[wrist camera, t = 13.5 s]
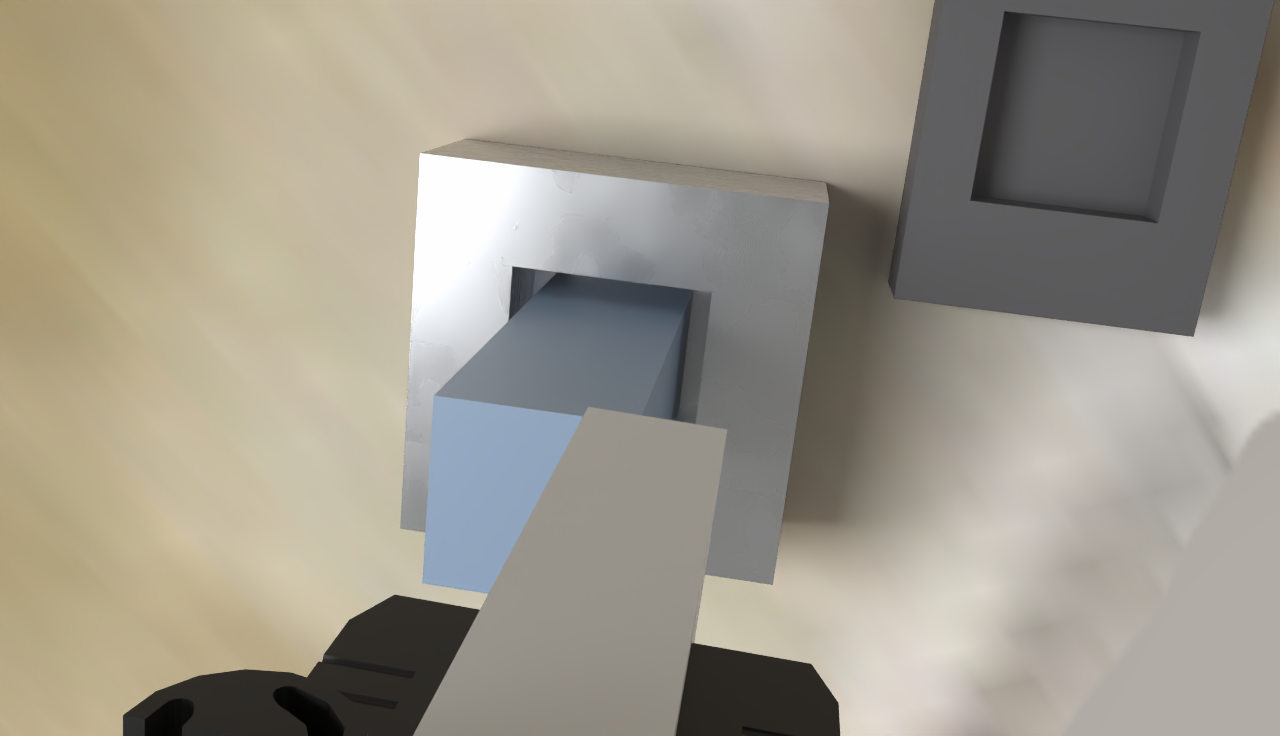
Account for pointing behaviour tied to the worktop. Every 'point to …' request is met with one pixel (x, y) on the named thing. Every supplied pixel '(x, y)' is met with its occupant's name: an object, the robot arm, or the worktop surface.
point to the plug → (541, 410)
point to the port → (640, 253)
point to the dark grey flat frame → (1076, 156)
